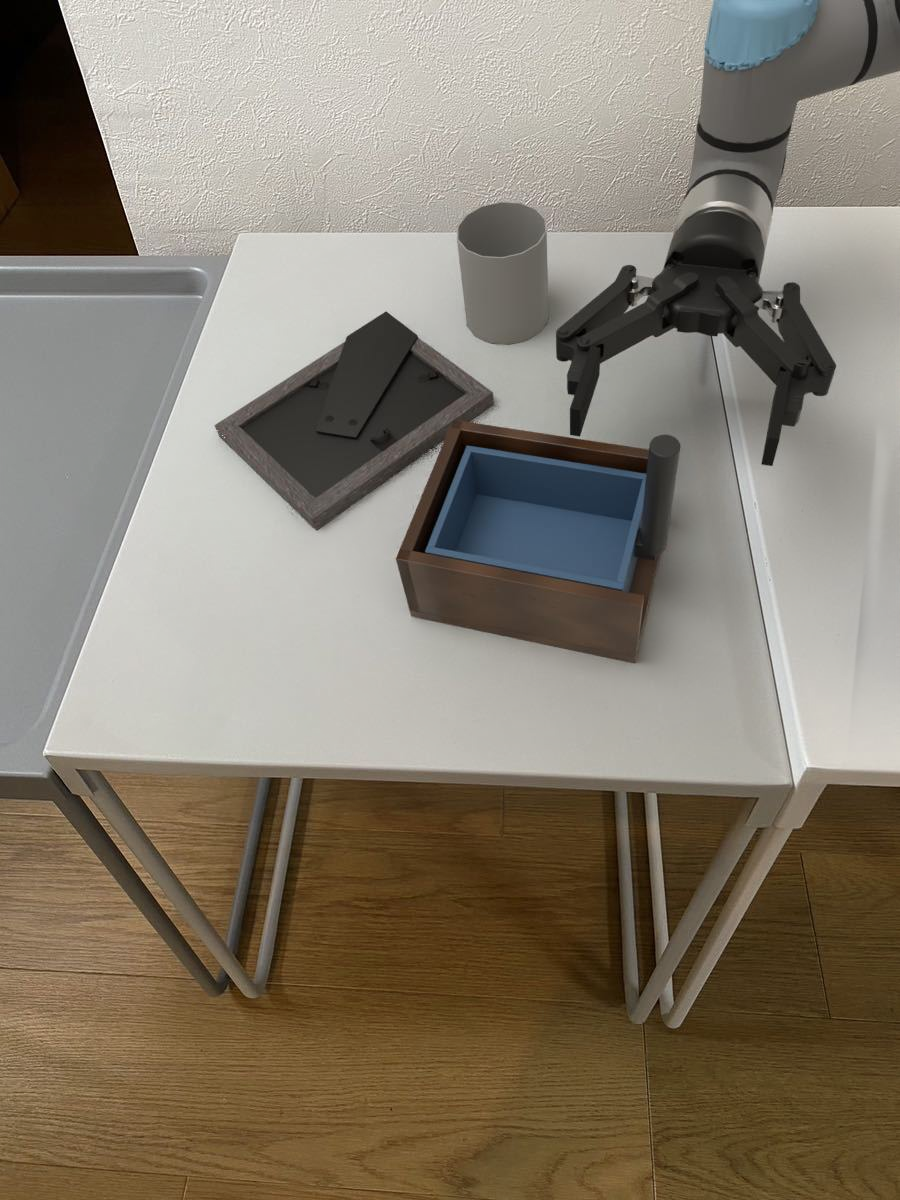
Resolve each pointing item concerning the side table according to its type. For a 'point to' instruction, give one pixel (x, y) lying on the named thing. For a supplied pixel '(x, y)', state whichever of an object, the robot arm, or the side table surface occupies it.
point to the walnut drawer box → (515, 596)
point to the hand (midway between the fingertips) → (669, 437)
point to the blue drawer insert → (558, 514)
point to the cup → (504, 271)
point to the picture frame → (353, 418)
